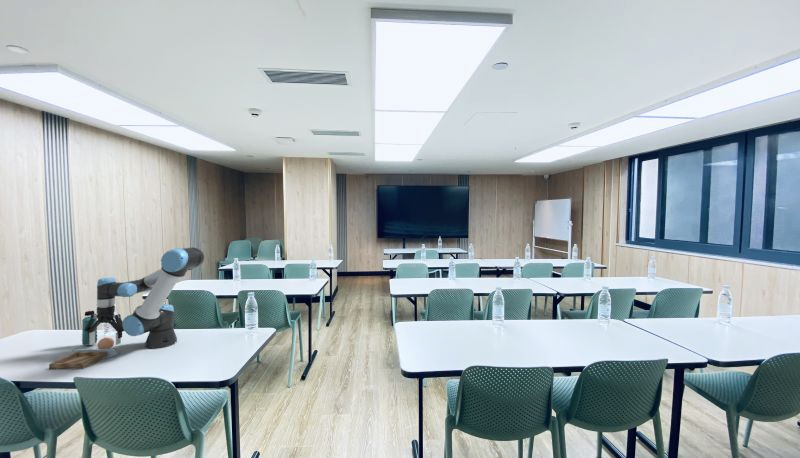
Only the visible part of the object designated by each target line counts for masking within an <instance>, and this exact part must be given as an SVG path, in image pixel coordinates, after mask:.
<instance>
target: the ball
mask: <svg viewBox="0 0 800 458" xmlns="http://www.w3.org/2000/svg"><path fill="white" fill-rule="evenodd" d="M97 342H98V343H96V344H97V345H96V346H97V349H113V347H114V344H115V340H114V339H113V338H111V337H109V336H107V337H103V338H101V339H100V340H98V341H97Z"/></svg>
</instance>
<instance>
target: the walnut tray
mask: <svg viewBox="0 0 800 458" xmlns="http://www.w3.org/2000/svg"><path fill="white" fill-rule="evenodd" d="M105 356H107V352H76V353H74V354H73V353H72V354H69V355H67V356H65V357H62V358H59V359H57V360H56V361H52V362H51V363H49V364H48V369H49V370H83V369H85V368H87V367H90V366H91V365H93V364H96V363H97V362H99V361H101V360H103V359H106V358H105Z"/></svg>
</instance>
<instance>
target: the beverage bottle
mask: <svg viewBox="0 0 800 458" xmlns="http://www.w3.org/2000/svg"><path fill="white" fill-rule="evenodd" d="M93 314H96V313H95V311H94V310H87V311H85V312H84V316H85V317H84V318H83V319H82V320H81V321H82V323H81V325H82V327H81V328H82V330H81V331H82V332H81V333H82V334H81V343H82V346H90V345H89V338H88V332H87V331H84V329H85V328H86V326H87V324H88V322H89V320H90V318H91V315H93ZM97 320H98V319H97V318H96V320H95V321H94V323H93V325H94V324H95V323H96V321H97ZM93 325H92V326H93ZM94 331H95V343H93V344H92V345H94V344H97V342H98V326H97V327H96V328H95V330H94Z"/></svg>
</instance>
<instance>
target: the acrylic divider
mask: <svg viewBox="0 0 800 458" xmlns="http://www.w3.org/2000/svg"><path fill="white" fill-rule="evenodd" d="M76 352H107V356H105V358H104V359H106V358H107V359H108V358H113V357H115V356H116V355H118V354H119V352H115V348H111V349H98V348H85V349H84V348H83V349H82V348H80V349H79V348H77V349H76V348H74V349H72V354H74V353H76Z"/></svg>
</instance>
